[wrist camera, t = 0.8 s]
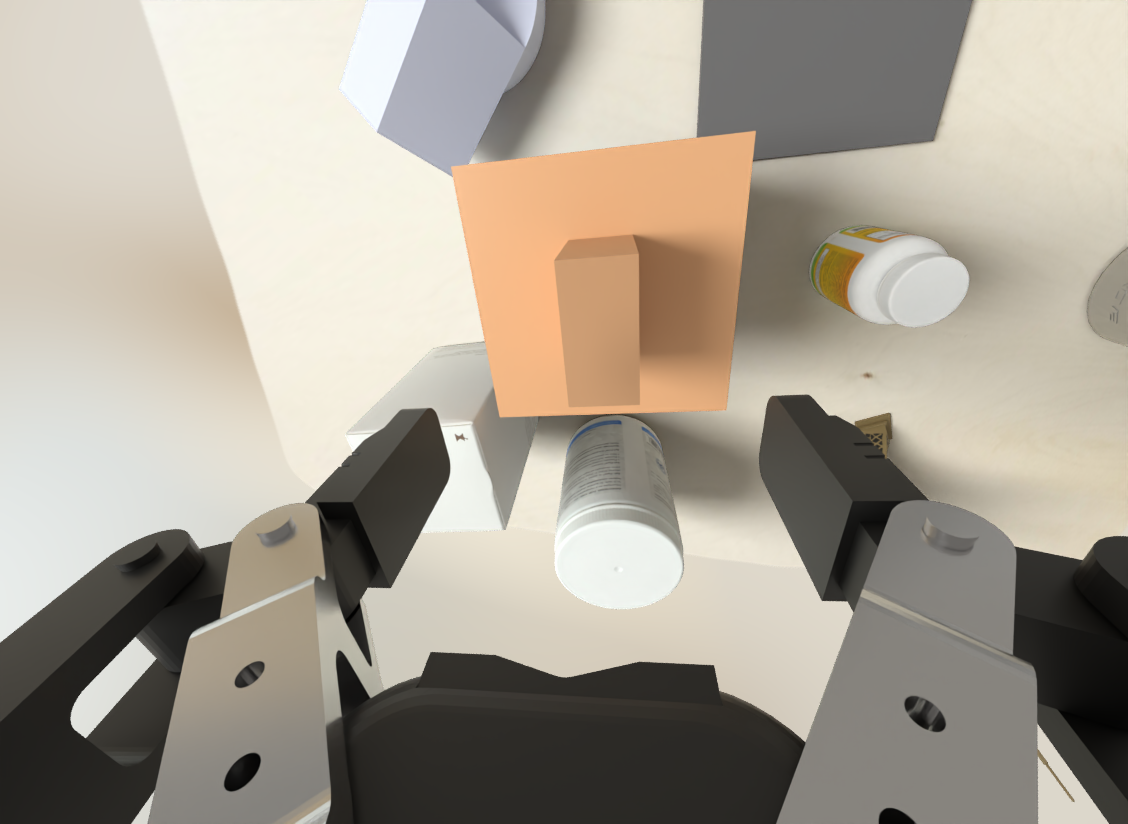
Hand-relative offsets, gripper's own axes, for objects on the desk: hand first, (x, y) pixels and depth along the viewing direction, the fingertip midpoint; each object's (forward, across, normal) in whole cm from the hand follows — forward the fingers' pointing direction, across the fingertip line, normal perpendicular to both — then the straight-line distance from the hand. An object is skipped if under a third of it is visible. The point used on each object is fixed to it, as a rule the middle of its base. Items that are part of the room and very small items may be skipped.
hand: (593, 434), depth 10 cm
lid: (+15, 0, 0) cm, 15 cm away
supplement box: (+27, +12, +11) cm, 31 cm away
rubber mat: (+27, -14, -13) cm, 33 cm away
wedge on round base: (+27, +9, -14) cm, 32 cm away
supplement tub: (+27, 0, +19) cm, 33 cm away
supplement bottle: (+27, -18, +2) cm, 32 cm away
